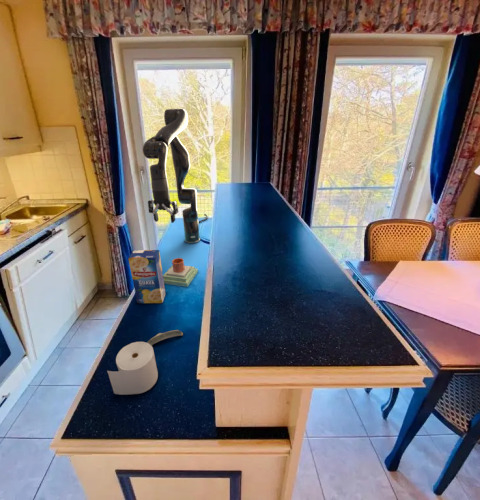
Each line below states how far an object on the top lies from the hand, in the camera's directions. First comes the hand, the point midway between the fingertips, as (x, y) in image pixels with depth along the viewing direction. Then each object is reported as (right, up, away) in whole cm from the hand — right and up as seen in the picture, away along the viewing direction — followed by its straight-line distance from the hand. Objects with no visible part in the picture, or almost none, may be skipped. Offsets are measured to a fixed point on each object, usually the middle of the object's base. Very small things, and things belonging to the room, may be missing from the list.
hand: (164, 221), depth 134 cm
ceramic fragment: (+7, -46, -35) cm, 58 cm away
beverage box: (-3, -35, -11) cm, 37 cm away
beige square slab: (+7, -25, +2) cm, 26 cm away
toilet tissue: (+2, -54, -49) cm, 73 cm away
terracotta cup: (+7, -23, +1) cm, 24 cm away
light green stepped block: (+7, -27, +3) cm, 28 cm away
